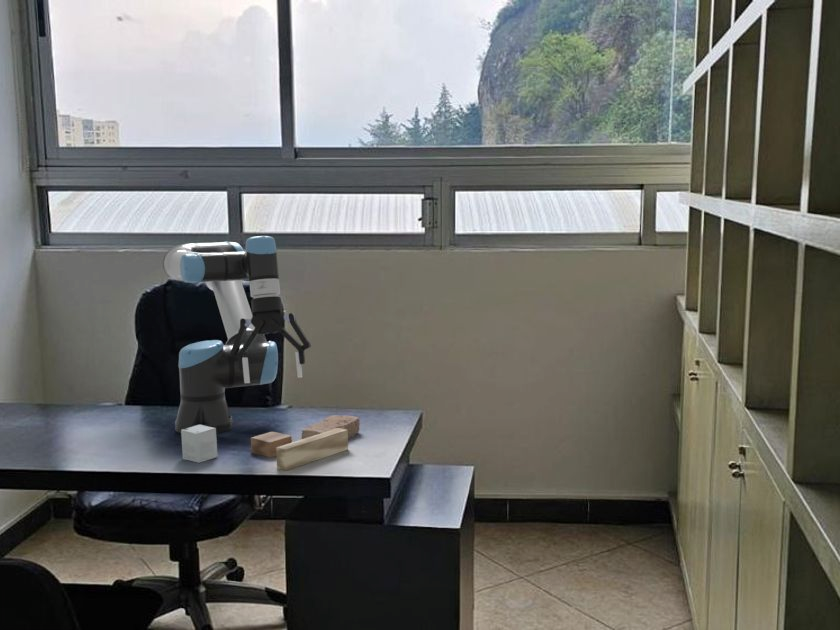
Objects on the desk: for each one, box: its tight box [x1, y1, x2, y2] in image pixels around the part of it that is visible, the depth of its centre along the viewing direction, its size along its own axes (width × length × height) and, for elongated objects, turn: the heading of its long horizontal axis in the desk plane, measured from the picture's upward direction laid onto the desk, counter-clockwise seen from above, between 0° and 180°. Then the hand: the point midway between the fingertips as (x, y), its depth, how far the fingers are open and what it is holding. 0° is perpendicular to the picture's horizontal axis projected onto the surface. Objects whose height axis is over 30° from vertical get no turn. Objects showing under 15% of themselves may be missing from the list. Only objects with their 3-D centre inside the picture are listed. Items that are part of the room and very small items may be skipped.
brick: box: [300, 414, 361, 440], centre depth 229 cm, size 17×8×5 cm, turn 154°
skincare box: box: [180, 425, 218, 464], centre depth 213 cm, size 6×6×7 cm
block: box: [250, 431, 293, 458], centre depth 219 cm, size 7×7×4 cm
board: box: [276, 428, 349, 471], centre depth 212 cm, size 3×21×5 cm, turn 142°
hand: (273, 380), depth 225 cm, fingers open, 13 cm apart
